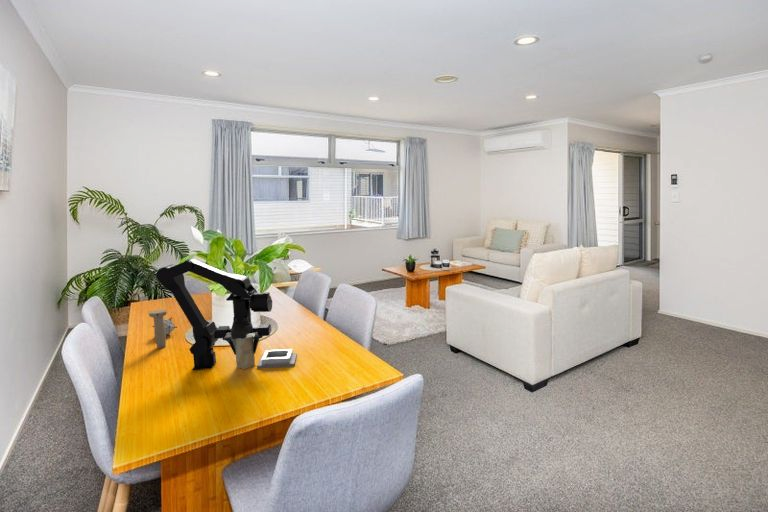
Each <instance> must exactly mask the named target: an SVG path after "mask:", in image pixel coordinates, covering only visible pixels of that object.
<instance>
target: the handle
mask: <svg viewBox="0 0 768 512" xmlns="http://www.w3.org/2000/svg"><path fill="white" fill-rule="evenodd" d="M167 313H168V311H167V309H157V310H152V311H149V312H148V316H149V317H150V318H153V323H154V324H153V326H154V327H153V328H154V329H153V330H154V334H153V335H154V340H155V344H156V348H157V349H163V348H165V347H166V342H167V335H166V333H165V327H164V321H163V319H164V316H166V315H167Z"/></svg>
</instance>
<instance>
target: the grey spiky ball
mask: <svg viewBox="0 0 768 512" xmlns="http://www.w3.org/2000/svg"><path fill="white" fill-rule="evenodd" d="M172 318H173V317H170V318H163V321H164V327H165V333H166V336H168V337H170V334H171V333H172V332H173V331H174V330H175V329H177V328H178V326H176V325H175V323H174V322H173V320H172ZM151 327H153V328H154V325H152V326H151Z"/></svg>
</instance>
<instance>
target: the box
mask: <svg viewBox="0 0 768 512" xmlns="http://www.w3.org/2000/svg"><path fill="white" fill-rule="evenodd" d="M253 337H254V335H251V334H247V337H246V338H244V339H241V338H237V339H235V347H236V355H235V359H236V361H235V362H236V363H235V364H236V367H237V368H238V369H242V370H245V369H248V368H250V367H253V366H255V365H256V364H255V363H256V361H255V354H254V351H253V349H254V339H253Z"/></svg>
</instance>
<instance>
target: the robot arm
mask: <svg viewBox="0 0 768 512" xmlns="http://www.w3.org/2000/svg"><path fill="white" fill-rule="evenodd" d="M188 272H189V273H192V274H195V275H197V276H199V277H201V278H204V279H207V280H209V281H212V282H214V283H217V284H219V285H220V286H222V287H223V288H224V289H225V290H226V291H228V292H229V293H230V294H229V296H228V297H227V298H226V299H225V300H226V301H232V310H233V321H232V325H231V328H230V326H229V325H221V326H218V327H217V326H216V323H215V322H214V321H211V322H209V321H208V320H206V319H205V318H204V315H203V314H202V312H201V311H200V309H199V307H198V305H197V304H196V302H195V300H194V298H193V297H192V296H191V293H190V292H189V290H188V289H187V287H186V284H185V283H186V282H185V276H184V274H185V273H188ZM155 276H156V277H155V278H156V280H157V281H158V282H159V284H161V286H162V287H163V288H164V289H166V290H168V292H170V293H171V294H172V296H173V298H174V299H175V301H176V302H177V304H178V305H179V307H180V309H181V311H182V312H183V315H184V316H185V317H186V319H187V321H188V322H189V324H190V326H191V327H192V337H193V339H194V343H193V344H192V345H191V347H189V352H190V354H191V355H192V358H193V365H194V366H193V367H192V370H193V371H196V370H210V369H213V367H214V365H216V363H217V357H216V351H214V346H215V345H216V342H218V340H219V339H222V340H223V341H226V342H227V343H228V344H229V347H230V348H231V350H232V353H233V354H234V356H236V347H235V339H237V338H241V339H244V338H246V337H247V334H249V335H251V334H254V335H253V339H254V349H253V351H254V355H255V354H256V353H257V348H258V345H259V342H260V339H262V338H263V337H268V336H270V335H271V332H272V325H271V323H259V325H258V327H254V326H253V324H252V312H254V313H270V312H271V311H272V309H273V299H272V297H271V294H270V292H258V291H257V289H256V288H255V287H254V286H253V285H252V283H251V280H250V278H249V277H248V276H246V275H242V274H238V273H229V272H227V271H226V272H225V271H224V270H221V269H219V268H216V267H214V266H211V265H209V264H206V263H204V262H201V261H199V260H197V259H195V258H189V259H186V260H184V261H183V262H180V263H179V264H169V265H166V266H163V267H160V268H158V270H157V271H156V274H155Z"/></svg>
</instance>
